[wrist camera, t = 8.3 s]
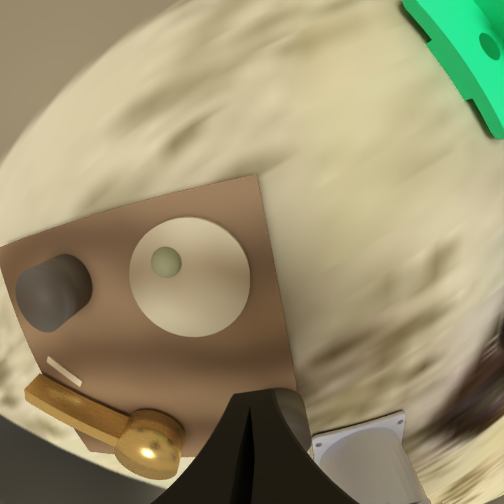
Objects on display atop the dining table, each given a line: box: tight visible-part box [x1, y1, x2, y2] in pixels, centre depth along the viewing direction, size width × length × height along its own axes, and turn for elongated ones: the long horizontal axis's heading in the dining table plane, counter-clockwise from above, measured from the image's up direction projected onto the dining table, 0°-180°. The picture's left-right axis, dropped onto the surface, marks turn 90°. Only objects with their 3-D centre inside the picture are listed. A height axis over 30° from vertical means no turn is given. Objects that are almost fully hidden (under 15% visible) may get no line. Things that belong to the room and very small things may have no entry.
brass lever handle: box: [24, 374, 185, 480], centre depth 17 cm, size 12×4×3 cm, turn 71°
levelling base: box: [0, 175, 312, 457], centre depth 17 cm, size 19×19×5 cm
